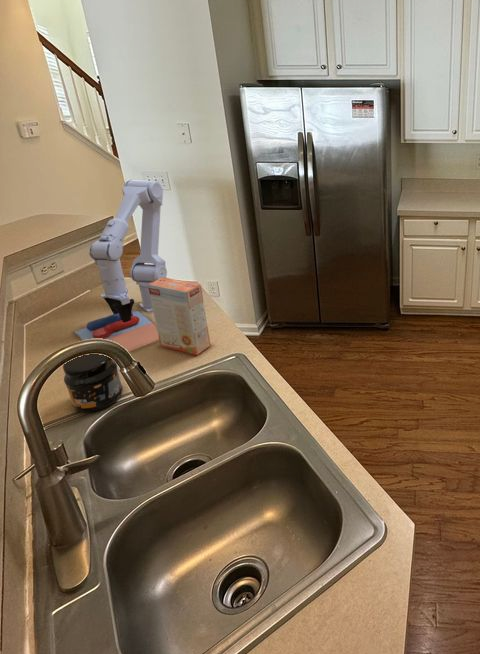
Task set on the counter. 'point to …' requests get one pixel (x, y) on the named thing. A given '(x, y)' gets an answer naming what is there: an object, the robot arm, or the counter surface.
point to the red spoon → (114, 328)
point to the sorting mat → (129, 333)
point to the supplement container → (92, 382)
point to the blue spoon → (104, 321)
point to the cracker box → (179, 315)
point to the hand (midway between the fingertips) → (122, 317)
